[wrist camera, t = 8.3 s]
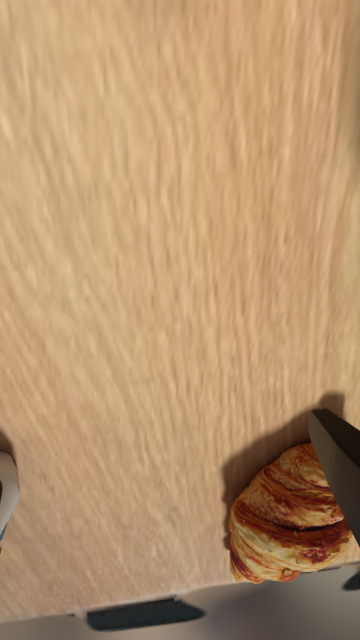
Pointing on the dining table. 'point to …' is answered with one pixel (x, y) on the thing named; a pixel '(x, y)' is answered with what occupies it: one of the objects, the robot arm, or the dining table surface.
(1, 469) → the salt shaker
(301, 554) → the croissant
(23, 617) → the dining table surface
